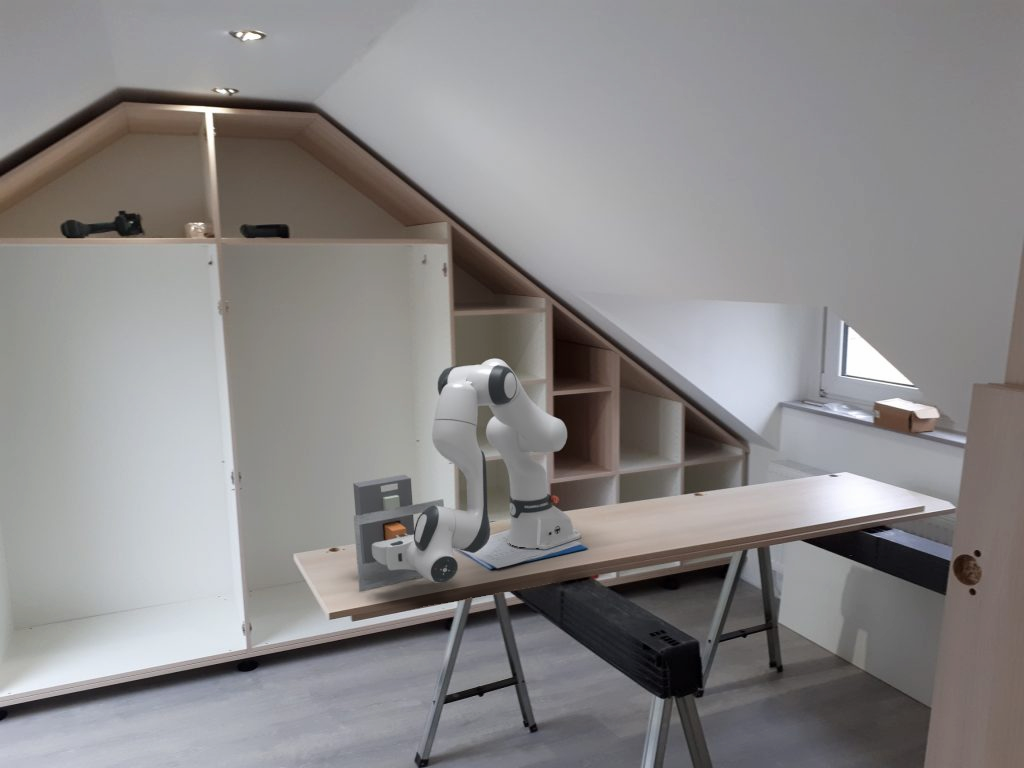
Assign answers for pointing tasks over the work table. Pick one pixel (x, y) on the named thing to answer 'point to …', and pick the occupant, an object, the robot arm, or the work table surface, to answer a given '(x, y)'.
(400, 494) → the panel
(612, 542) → the work table surface
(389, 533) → the plunger
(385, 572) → the frame
